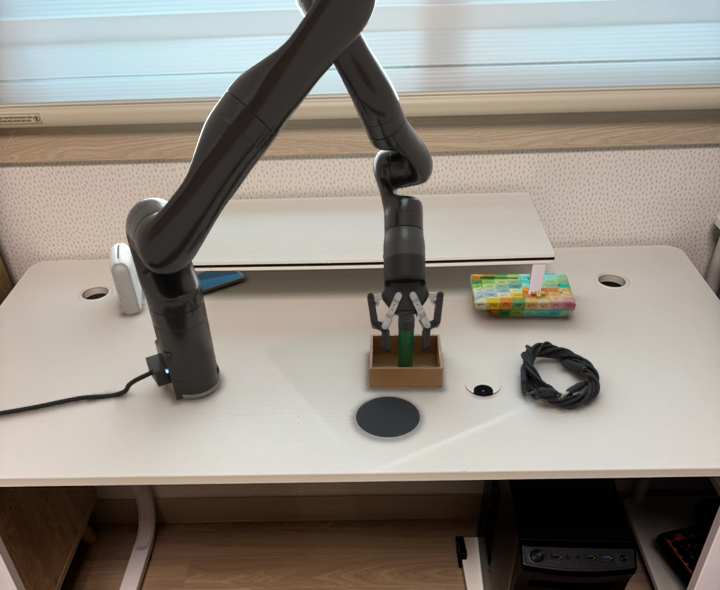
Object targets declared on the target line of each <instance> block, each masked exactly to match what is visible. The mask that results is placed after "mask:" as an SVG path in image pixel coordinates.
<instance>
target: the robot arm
mask: <svg viewBox="0 0 720 590" xmlns="http://www.w3.org/2000/svg"><path fill="white" fill-rule="evenodd" d="M294 2H295V5H296V7H297V8H298V10H299V12H300V14H301V15H302V19H301V20H300V22H299V24H298V25H297V27H296V28H295V30H294V31H293V32H292V33H291V34H290V36H289V37H288V38H287V39H286V41H285V42H283V44H281V45H280V46H279V47H278V48H277V49H276V50H274V51H272V53H270V54H269V55H267V56H264V58H262V59H260V60H259V61H257V62H256V63H254V64H252V65H251V66H250V67H248V68H247V69H246V70H245V71H243V72H242V73H240V74H239V75H238V76H237V77H236V78H235V79H234V80H233V81H232V82H231V84H230V85H229V86H228V88H227V89H226V91H225V92H224V93H223V94H222V96H221V97H220V99H218V101H217V102H216V104H215V106H214V107H213V109H212V110H211V112H210V113H209V115H208V116H207V118H206V120H205V122H204V124H203V126H202V128H201V132H200V135H199V137H198V141H197V144H196V146H195V150H194V152H193V156H192V159H191V162H190V165H189V167H188V169H187V172H186V175H185V176H184V178H183V180H182V181H181V183H180V185H179V186H178V188H177V189H176V190H175V192H174V193H173V194H172V196H170V198H169V199H168V200H165V199H163V198H159V197H148V198H143V199H141V200H140V201H138V202H136V203H135V204H134V205H133V206H132V207H131V208H130V210H129V212H128V214H127V217H126V218H125V219H126V220H125V235H126V240H127V244H128V247H129V248H130V251H131V255H132V258H133V262H134V265H135V268H136V272H137V276H138V279H139V283H140V286H141V290H142V293H143V295H144V298H145V301H146V305H147V309H148V312H149V315H150V319H151V323H152V326H153V327H152V328H153V330H154V334H155V337H156V339H155V340H154V344H155V348H156V352H157V353H156V354H152V355H150V356H147V357H145V362H146V365H147V368H148V369H147V370H148V371H147V372H144V373H142V374H140V375H138V376H136V377H134V378H132V379H131V380H130V381H128V382H127V383H126V384H125V386H124V388H123V389H121V390H119V391H116V392H111V393H98V394H83V395H76V396H71V397H66V398H61V399H57V400H51V401H47V402H43V403H42V402H41V403H38V404H32V405H26V406H22V407H16V408H10V409H4V410H0V417H3V416H8V415H9V416H10V415H13V414H20V413H26V412H31V411H36V410H40V409H41V410H42V409H45V408H51V407H55V406H60V405H64V404H69V403H75V402H81V401H88V400H103V399H111V398H119V397H121V396H123V395H126V394H127V393H128V392H129V391H130V389H131V388H132V386H133V385H135V384H137V383H138V382H140V381H142V380H145V379H146V378H149V377H152V379H153V380H154V382H155V383H156V385H157V386H158V388H160V387H163V386H167V387H168V389H169V392H170V393H171V394H172V396H173V397H174V398H175V400H176V401H181V400H198V399H203V398H206V397H208V396H210V395H211V394H213V393H214V392H216V391H217V390H218V389H219V388H220V386H221V384H222V383H221V382H222V379H221V371H220V367H219V365H218V362H217V357H216V353H215V347H214V342H213V337H212V331H211V327H210V323H209V317H208V313H207V307H206V303H205V297H204V293H203V292H202V287H201V283H200V281H199V278H198V276H197V274H198V273H197V271H196V269H195V266H194V263H193V260H194V259H195V257H196V256H197V254H198V252H199V251H200V249H201V248H202V247H203V244H204V242H205V240H206V239H207V237H208V235H209V234H210V232H211V230H212V229H213V227H214V225H215V224H216V222H217V220H218V218H219V216H220V215H221V213H222V212H223V211H224V208H226V206H227V205H228V203H229V201H230V200H231V199H232V198H233V197H234V195H235V194H236V192H237V191H238V190H239V189H240V187H241V186H242V184H243V183H244V182H245V180H246V179H247V177H248V176H249V175H250V173H251V172H252V170H253V169H254V168H255V167H256V165H257V164H258V163H259V161H260V160H261V159H262V158H263V157H264V155H266V153H267V152H268V150H269V149H270V147H271V146H272V145H273V143H274V142H275V140H276V139H277V137H278V136H279V135H280V134H281V132H282V130H283V129H284V127H285V126H286V124H287V123H288V122H289V120H290V119H291V118H292V117H293V115H294V114H295V112H296V111H297V110H298V108H300V106H301V104H302V103H303V102H304V101H305V99H306V98H307V97H308V95H309V94H310V93H311V91H312V90H313V89H314V87H315V86H316V85H317V84H318V82H319V81H320V80H321V78H323V76H324V75H325V74H326V73H327V72H328V70H329V69H330V68H331V67H332V66H334V68H335V70H336V72H337V74H338V75H339V77H340V80H341V82H342V83H343V85H344V88H345V90H346V91H347V94H348V95H349V97H350V100H351V102H352V104H353V107H354V109H355V111H356V113H357V115H358V118H359V120H360V123H361V125H362V127H363V129H364V132H365V134H366V136H367V139H368V141H369V143H370V144H371V145H372V147H373V148H375V149H376V150H379V151H378V152H377V153H376V155H375V157H374V159H373V163H372V171H373V176H374V179H375V182H376V185H377V188H378V192H379V196H380V199H381V204H382V209H383V227H384V229H383V230H384V232H383V233H384V234H383V235H384V236H383V244H382V245H383V246H382V247H383V248H382V253H383V254H382V259H383V289H382V291H381V292H379V293H373V292H369V293H367V296H366V302H367V307H368V313H369V320H370V324H371V325H370V326H371V328H372V329H373V330H378V331H379V332H380V334H382V348H383V349H386V353H390V334H391V333H390V326H391V324H392V322H393V320H394V318H395V316H396V317H399V315H400V314H403V313H410V314H413V315H414V316H415V319H416V320H417V321H418V322H419V324H420V326H421V328H422V330H421V334H422V352H426V351H427V349H429V347H430V334H431V330H434V329H437V328H439V327H440V325H441V321H442V312H443V307H444V297H445V293H444V292H443V291H438V292H433V291H429V289H428V287H427V270H426V269H427V268H426V265H427V264H426V241H425V234H424V206H423V203H422V201H421V200H420V199H419V198H418V197H416V196H414V195H413V196H412V195H405V194H398V193H397V190H402V189H406V188H410V187H417V186H421V185H424V184H426V183H427V182H428V181H429V180H430V178H431V176H432V174H433V169H434V163H433V157H432V154H431V152H430V149H429V148H428V145H427V144H426V143H425V142H424V140H423V139H422V137H420V136H419V134H418V133H417V132H416V131H415V129H414V128H413V126H412V125H411V124H410V122H409V121H408V119H407V117H406V114H405V112H404V109H403V106H402V104H401V101H400V98H399V96H398V93H397V91H396V89H395V87H394V85H393V83H392V81H391V80H390V78H389V76H388V75H387V72H386V71H385V70H384V68H383V66H382V65H381V64H380V62H379V61H378V59H377V57H376V56H375V54H374V52H373V51H372V50H371V48H370V46H369V44H368V42H367V40H366V38H365V36H364V35H363V31H364V30H365V28H367V25H369V22H370V20H371V18H372V16H373V14H374V11H375V8H376V4H377V0H295V1H294ZM428 299H429V300H430V304H431V305H432V306H434V310H433V317H432V319H431V320H429V319H428V316H427V314H426V310H425V309H424V304H425V303H426V302H427V301H428ZM380 301H383V302H384V304H385V305H386V306H387V308H388V309H387V312H386V314H385V317H384V319H383V321H380V320H379V319H378V312H377V308H378V307H379V306H380Z"/></svg>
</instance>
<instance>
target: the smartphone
mask: <svg viewBox="0 0 720 590" xmlns="http://www.w3.org/2000/svg"><path fill="white" fill-rule="evenodd" d="M196 274H197V276H198V278H199V281H200V283H201V287H202V292H203V294H207V293H209V292H212V291H216V290H219V289H221V288H224V287H227V286H230V285H233V284H236V283H240V282H242V281H244V280H245V279H246V276H245V274H244V273H242V272H241V271H240V270H239V271H230V272H229V271H208V270H205V271H202V272H198V273H196Z"/></svg>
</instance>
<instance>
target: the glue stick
mask: <svg viewBox="0 0 720 590" xmlns="http://www.w3.org/2000/svg"><path fill="white" fill-rule="evenodd" d="M415 322H416V316H415V315H413V314H410V313H403V314H400V315H399V316H397V329H398V330H397V334H398V367H413V346H414V334H415V327H416V326H415V324H416V323H415Z"/></svg>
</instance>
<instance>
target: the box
mask: <svg viewBox="0 0 720 590" xmlns="http://www.w3.org/2000/svg"><path fill="white" fill-rule="evenodd" d="M369 337H370V338H369V366H368V367H369V370H368V372H369V373H368V375H369V377H368V378H369V388H442V387H443V376H444V375H443V374H444V365H443V355H442V354H443V353H442V344H441V335H440V333H439V334H435V333H434V334H433V333H432V334H431V333H430V347H429V349H427V351H426V352H422V333H419V334H415V333H414V346H413V367H398V333H396V334H395V333H394V334H393V333H392V334H391V333H390V353H386V349H383V348H382V334H381V333H380V334H377V333H376V334H370V336H369Z"/></svg>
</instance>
